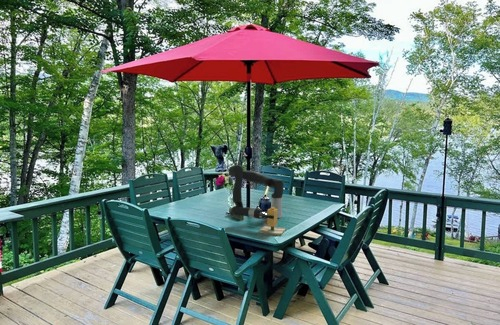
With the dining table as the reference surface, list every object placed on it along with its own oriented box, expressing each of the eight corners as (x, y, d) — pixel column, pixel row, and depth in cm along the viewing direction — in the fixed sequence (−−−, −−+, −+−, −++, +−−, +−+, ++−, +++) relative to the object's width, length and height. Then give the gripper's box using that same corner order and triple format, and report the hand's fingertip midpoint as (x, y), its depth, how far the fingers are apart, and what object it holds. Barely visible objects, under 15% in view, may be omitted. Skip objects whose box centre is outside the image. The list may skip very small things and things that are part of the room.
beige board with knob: (264, 227, 257) (264, 220, 257) (285, 230, 252) (285, 223, 251) (258, 233, 244) (258, 225, 244) (281, 235, 238) (281, 228, 238)
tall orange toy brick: (267, 225, 246) (267, 208, 245) (270, 223, 251) (270, 206, 250) (273, 226, 243) (274, 209, 242) (277, 224, 248) (277, 207, 247)
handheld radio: (241, 220, 278) (224, 214, 298) (244, 220, 280) (227, 213, 300) (241, 212, 278) (225, 207, 297) (244, 212, 280) (228, 206, 299)
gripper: (251, 210, 247) (271, 213, 239) (260, 206, 260) (279, 209, 251) (250, 220, 248) (271, 223, 240) (260, 216, 260) (279, 219, 252)
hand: (275, 216), depth 245 cm, fingers closed on tall orange toy brick, 5 cm apart
